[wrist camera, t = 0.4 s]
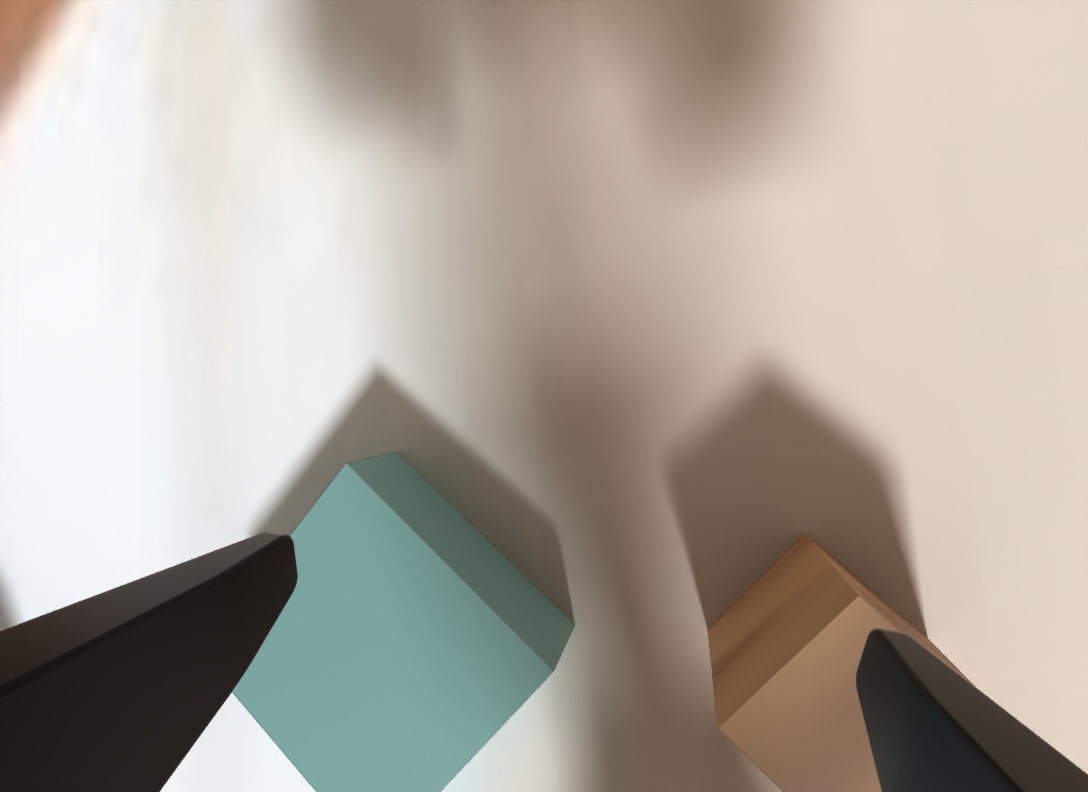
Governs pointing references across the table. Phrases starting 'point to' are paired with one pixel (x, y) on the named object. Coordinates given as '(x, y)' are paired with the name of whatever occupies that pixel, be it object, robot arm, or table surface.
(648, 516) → the table surface
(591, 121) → the table surface
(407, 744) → the teal base block
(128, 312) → the table surface
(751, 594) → the walnut block
